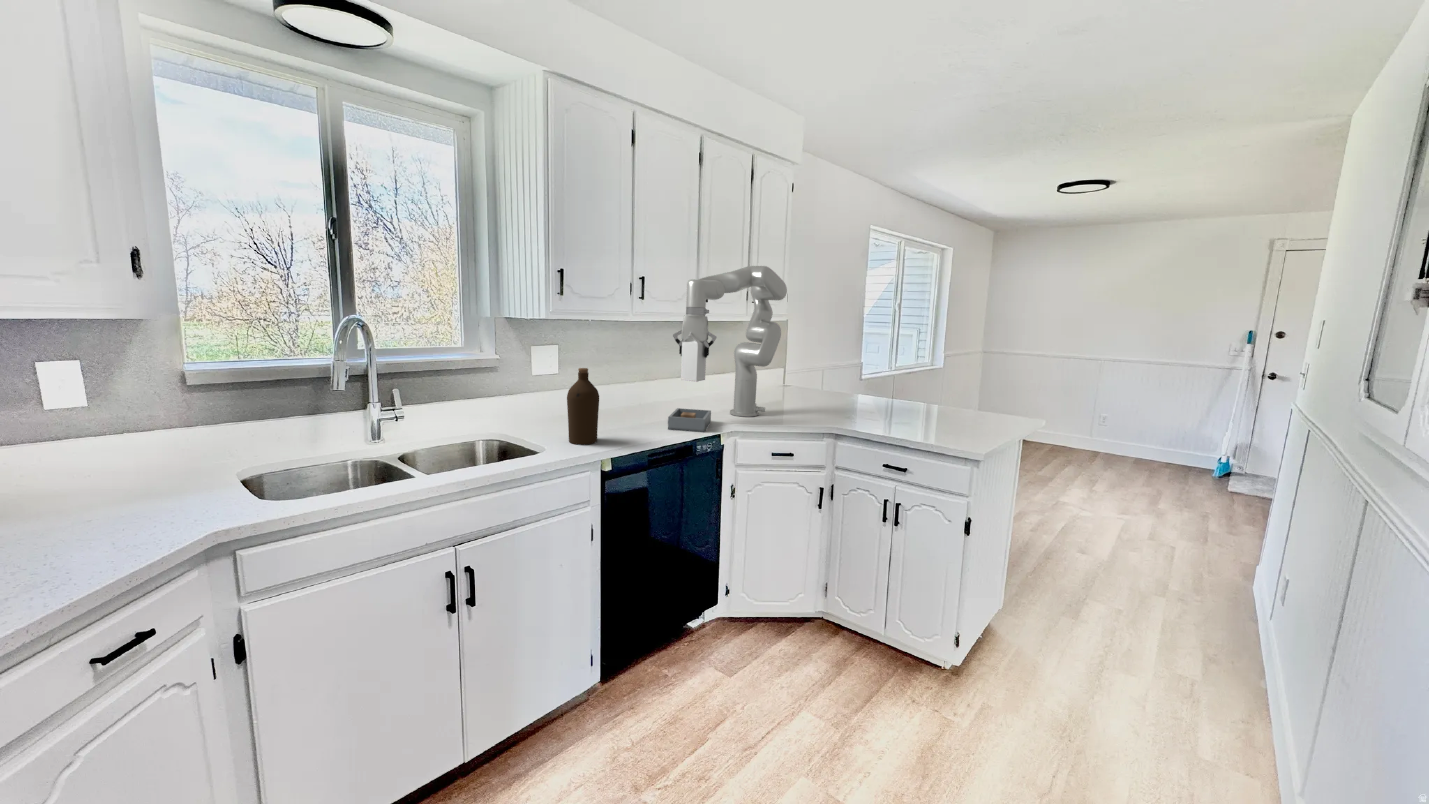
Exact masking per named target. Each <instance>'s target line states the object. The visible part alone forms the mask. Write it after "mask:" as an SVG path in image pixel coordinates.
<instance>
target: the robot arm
mask: <svg viewBox="0 0 1429 804" xmlns="http://www.w3.org/2000/svg"><path fill="white" fill-rule="evenodd" d="M749 288H750V294H751V298H752V301H753V307H754V308H753V313H752V315H751V317H750V320H749V323H748V325H747V327H746V331H745V337H746V339H747V340H748V341H750V342H745V341H743V342H740V343H738V344H736V346H735V347H734V350H733V356H734V357H733V358H734V365H735V366H734V367H735V368H734V369H735V373H734V374H735V375H734V376H735V377H734V378H735V379H734V392H733V393H734V395H733V408H732V409H729V414H730V415H732V416H736V417H743V418H744V417H756V416H759V412H761V413H763V412H766V407H764V406H758V405H757V403H756V399H757V395H756V394H757V384H758V383H757V382H758V380H757V379H758V373H757V370H756V367H761V368H763V367H764V368H765V367H767V366H769V365H770V364H771V362H772V361H773V358H774V356H775V353H776V351H777V349H778V346H779V344H780V341H781V338H782V337H781V336H782V328H781V326H780V325H779V324H778V323H777V322H774V321H772V317H773V308H772V305H771V303H770V301H782V300H784V298H786V296H787V293H788V287H787V285H786V282H785V281H784V280H783V279H782V278H781V277H780V276H779V275H778V274H777V273H776V272H775V271H774V270H773V269H772V268H771V267H769V266H767V265H747V266H745V267H741V268H738V269H735V270H732V271H727V272H723V273H719V274H714V275H708V276H705V277H702V278H698V279H693V278H692V279H689V280H687V282H686V301H685V302H686V303H685V315H684V316H683V319H682V326H681V330H679V331H678V332H675V333H673V334H672V337H673V339H674V341H675V342H676V344H677V345H678V346H679V350H678V351H679V355H680V357H682V342H683V341H684V340H685V339H686V338H687V337H688V336H689V335H690V332H692V335H693V336H694V337H695V338H696V339H697V340H698V341H700V342H703V343H704V344H705V352H704V357H705V358H706V359H707V358H708V356H709V355H710V347H711V346H712V345H714V343H715V342H716V339H718V337H717V335H715V334H713V333H712V332H710V330H709V318H708V316H707V314H710V310H709V309H707V308H706V307H707V300H710V301H711V300H713V301H717V300H720V299H721V298H723V297H724V296H725V294H732V293H737V292H740V291H742V290H743V291H744V290H746V289H749ZM678 336H681V339H680V338H679V337H678ZM709 337H710V338H711V340H710V341H708V340H709ZM685 341H695V340H694V339H693V337H692V336H690V337H689V338H688V339H686V340H685Z"/></svg>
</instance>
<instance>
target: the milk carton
mask: <svg viewBox="0 0 1429 804" xmlns="http://www.w3.org/2000/svg"><path fill="white" fill-rule="evenodd" d="M690 336H692V337H693V339H694V340H695V341H685V340H686V339H688V338H689V337H690ZM686 339H685V340H684V341H683V342H682V356H681V362H680V363H681V366H680V368H681V369H680V380H681V381H687V382H688V381H689V382H696V383H698V382H701V381H706V368H707V367H706V366H707V365H706V363H707V358H705V357H704V352H705V344H704V343H703V342H700V341H698V340H697V339H696V338H695V337H694V336H693V335H692V332H690V335H689V336H688V337H687V338H686Z"/></svg>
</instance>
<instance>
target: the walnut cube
mask: <svg viewBox="0 0 1429 804" xmlns="http://www.w3.org/2000/svg"><path fill="white" fill-rule="evenodd" d="M681 417H685V418H696V413H689V412H683V413H682V414H681Z"/></svg>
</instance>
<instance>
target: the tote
mask: <svg viewBox="0 0 1429 804" xmlns="http://www.w3.org/2000/svg"><path fill="white" fill-rule="evenodd" d="M683 412H689V413H696V418H685V417H681V414H682V413H683ZM711 418H712V410H709V409H695V408H679V407H677V408H675V409H674V411H673V412H671V414H670V415H669V416H667V430H668V431H678V432H680V431H681V432H694V433H705V432H706V431H707V429H708V427H709V426H710V424H711V421H712V419H711Z"/></svg>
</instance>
